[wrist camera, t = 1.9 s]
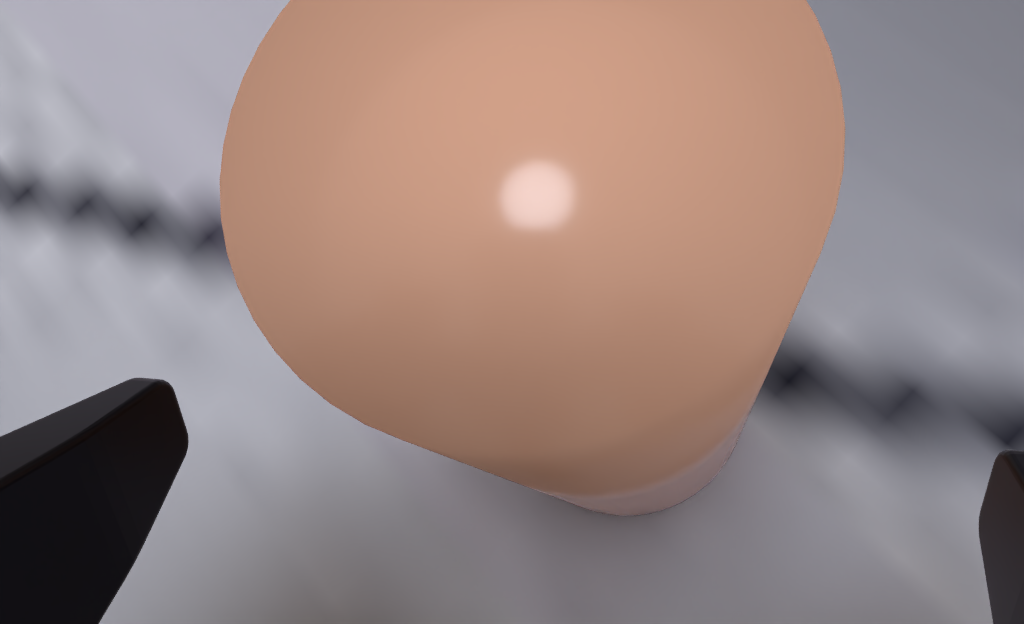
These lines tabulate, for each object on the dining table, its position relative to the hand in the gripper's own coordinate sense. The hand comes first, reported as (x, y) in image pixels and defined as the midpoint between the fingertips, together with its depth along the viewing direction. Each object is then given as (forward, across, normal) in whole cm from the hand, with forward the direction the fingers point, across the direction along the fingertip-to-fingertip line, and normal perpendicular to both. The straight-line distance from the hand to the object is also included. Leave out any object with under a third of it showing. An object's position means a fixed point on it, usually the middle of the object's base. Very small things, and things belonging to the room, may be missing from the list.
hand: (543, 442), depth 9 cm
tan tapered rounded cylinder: (+8, 0, +5) cm, 10 cm away
